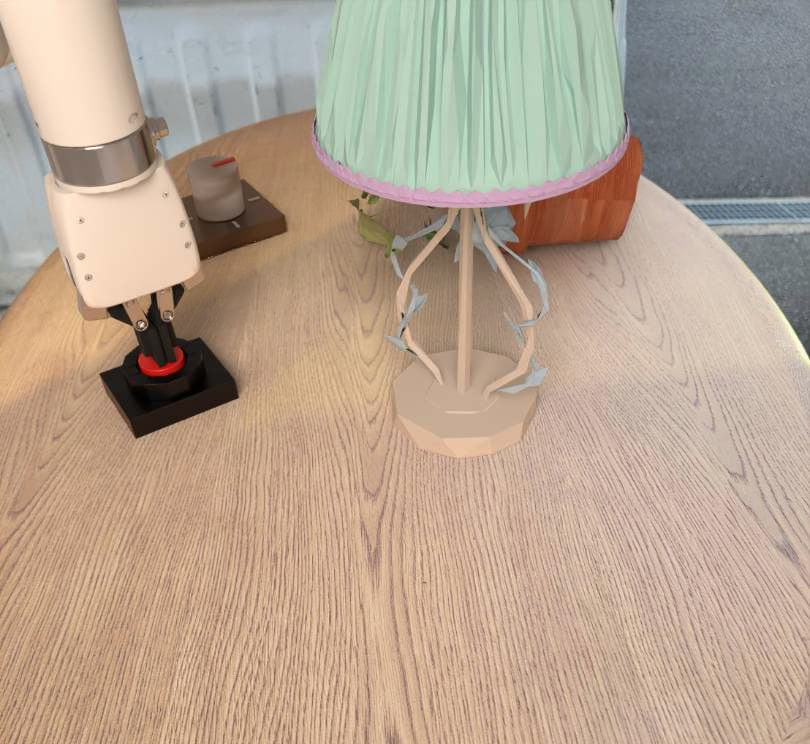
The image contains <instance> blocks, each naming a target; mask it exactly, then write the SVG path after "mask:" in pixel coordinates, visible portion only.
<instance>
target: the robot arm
mask: <svg viewBox="0 0 810 744" xmlns="http://www.w3.org/2000/svg"><path fill="white" fill-rule="evenodd" d="M13 63H14V66H15V68H16V70H17V74H18V77H19V80H20V83H21V85H22V87H23V88H22V89H23V91H24V93H25V97H26V100H27V103H28V105H29V108H30V109H29V110H30V112H31V114H32V116H33V120H34V123H35V126H36V129H37V131H38V135H39V137H40V141H41V143H42V146H43V149H44V151H45V155H46V157H47V161H48V163H49V166H50V169H51V171H49V172H47V173H46V174H45V175H44V177H43V187H44V195H45V201H46V204H47V205H46V206H47V210H48V215H49V218H50V223H51V226H52V230H53V234H54V237H55V241H56V245H57V248H58V251H59V254H60V257H61V261H62V264H63V267H64V270H65V272H66V275H67V278H68V280H69V282H70V285H71V286H72V288H73V289H74V290H76V297H77V298H76V299H77V310H78V312H79V314H80V315H81V316H82V318H83V319H84V320H85V321H88V322H91V321H100V320H108V319H110V318H112V319H114V320H116V321H119V322H121V323H123V324H126V325H128V326H130V327H132V328H133V331H134V334H135V337H136V340H137V343H138V345H139V347H140V349H141V351H142V353H143V355H144V356H145V357H149V356H151V357H152V358H153V360H154V361H155V362H156V364H157V365H158V366H159V368H160V367H163V366H165V364H166V363H167V362H168V363H169V362H170V363H173V362H176V357H175V353H174V350H173V347H176V346H178V343H177V339H176V337H177V335H176V333H175V328H174V325H173V322H172V320H174V318H175V310H176V308H177V306H178V305H179V303H180V301H181V299H182V297H184V295H185V292H187V291H190V290H191V289H193V288H195V287H197V286H198V285H200V284H201V283H202V282H204V280H205V278H206V274H205V273H204V271H203V268H202V267H201V261H200V257H199V252H198V248H197V244H196V240H195V237H194V234H193V231H192V227H191V224H190V221H189V218H188V215H187V213H186V210H185V207H184V204H183V201H182V199H181V198H182V196H181V194H180V193H181V192H180V191H179V188H178V185H177V183H176V181H175V179H174V176H173V174H172V172H171V169H170V167H169V165H168V163H167V161H166V159H165V157H164V155H163V154H162V152H161V151H160V150H159V149H158V148H157V145H158V144H157V141H160V140H161V138H163V137H167V136H170V130H169V126H168V124H167V121H166V120H165V117H164V116H159V117H153V116H151V117H148V116H147V114H145V109H144V107H143V106H144V105H143V103H142V97H141V94H140V90H139V86H138V85H139V84H138V82H137V78H136V74H135V70H134V65H133V62H132V58H131V54H130V50H129V47H128V42H127V38H126V33H125V30H124V26H123V23H122V18H121V15H120V11H119V6H118V3H117V0H0V69H2V68H4V67H7V66H9V65H11V64H13ZM145 296H148V301H149V307H148V308H146V310H147V312H146V313H145V311H144V309H142V307H141V304H140V303H139V301H138V299H139V298H142V297H145ZM166 361H167V362H166Z"/></svg>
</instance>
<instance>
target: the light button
mask: <svg viewBox="0 0 810 744" xmlns="http://www.w3.org/2000/svg"><path fill="white" fill-rule="evenodd" d="M173 350H174V353H175V357H176V362H173V363H170V362H169V363H168V362H167V361H166V362H167V363H166V364H165V366H163V367H160V368H159V366H158V365H157V364H156V362H155V361H154V360H153V358H152V357H151V356H149V357H145V356H144V355H143V353H141V354H140V356H139V359H138V363H139V366H140V369H141V373H143V374H145V375H148V376H165V375H168V374H171V373H173V372H176V371H178V370H179V369H180V368H181V367H183V366H184V365H185V364H186V361H185V358H184V354H183V351H182V350H181V349H180V348H179V347H178V346H176V347H173Z"/></svg>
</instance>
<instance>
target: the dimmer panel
mask: <svg viewBox="0 0 810 744" xmlns="http://www.w3.org/2000/svg"><path fill="white" fill-rule="evenodd" d="M240 181H241V187H242V192H243V198H244V204H245V209H244V211H243V213H242V214H240V215H239V216H237V217H235V218H233V219H230V220H226V221H219V222H213V221H206V220H203V219H201V218H199V217H198V216H197V214H196V210H195V206H194V201H193V197H192V194H190V195H186V196H183V197H181V199H182V201H183V204H184V207H185V210H186V213H187V215H188V218H189V221H190V224H191V227H192V231H193V234H194V237H195V240H196V244H197V248H198V252H199V257H200V260H201V261H204V260H206V259H205V258H207V259H209V258H208V257H210V258H212V257H211V256H213V257H215V256H214V255H216V256H218V255H217V254H219V255H221V254H220V253H222V254H224V253H223V252H225V253H227V252H226V251H228V252H230V251H229V250H231V251H233V250H232V249H234V250H236V249H235V248H237V249H239V248H238V247H240V248H242V247H241V246H243V247H245V246H244V245H246V244H249V243H252V242H255V241H258V240H261V239H264V238H267V237H270V236H273V237H275V236H274V235H276V234H279V233H282V234H284V233H283V232H285V233H287V232H288V228H287V221H286V215H285V214H284V213H283V212H281V210H279V208H277V207H276V206H275V205H274V204H273V203H271V202H270V201H269V200H268V199H267V198H266V197H264V195H262V194H261V193H260V192H259V191H258V190H257V189H256V188H254V187H253V186H252V185H251V184H250V183H249V182H248V181H247V180H246V179H244V178H243V179H240ZM286 231H287V232H286ZM279 235H280V234H279ZM276 236H277V235H276ZM270 238H271V237H270ZM267 239H268V238H267ZM264 240H265V239H264ZM261 241H262V240H261ZM258 242H259V241H258ZM255 243H256V242H255ZM252 244H253V243H252ZM249 245H250V244H249ZM246 246H247V245H246ZM203 259H204V260H203Z"/></svg>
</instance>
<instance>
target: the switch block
mask: <svg viewBox="0 0 810 744" xmlns="http://www.w3.org/2000/svg"><path fill="white" fill-rule="evenodd" d="M176 339H177V343H178V347H179V348H180V349H181V350H182V351H183V354H184V358H185V361H186V364H185V365H184V366H183V367H181V368H180V369H179V370H178V371H176V372H173V373H171V374H168V375H165V376H148V375H145V374H143V373H141V369H140V366H139V363H138V359H139V356H140V354H141V353H142V351H141V349H140V347H139V344H138V345H136V346H135V347H134V348H132V349H131V350H130V351H129V352H127V354H126V355H124V357H123V358H124V359H123V362H122V364H121V365H119V366H116V367H113V368H111V369H108V370H105V371H102V372H100V373H99V378H100V381H101V383H102V385H103V389H104V391H105V393H106V395H107V397H108V398H109V399H110V402H112V404H113V406H114V408H116V411H117V412H118V414H119V415H120V417H121V418H122V420H123V421H124V424H125V425H126V426H127V428H128V429H129V431H130V432H131V434H132V436H133V437H134V438H135V440H137V439H140V438H143V437H144V436H147V435H150V434H153V433H155V432H158V431H160V430H162V429H165V428H167V427H170V426H173V425H175V424H177V423H178V424H179V423H180V422H182V421H185V420H187V419H190V418H193V417H195V416H197V415H200V414H203V413H206V412H207V411H211V410H213V409H216V408H217V407H220V406H223V405H225V404H229V403H231V402H233V401H236V400H238V399H240V397H239V392H238V388H237V387H238V386H237V383H236V378H234V376H233V375H232V374H231V373H230V372H229V371H228V369H227V368H226V367H225V366H224V364H223V363H222V362H221V361H220V360H219V358H218V357H217V356H216V355H215V353H214V352H213V351H212V350H211V348H210V347H209V346H208V345H207V344H206V343H205V341H204V340H203V339H202V338H201V336H198V337H195V338H193V339H190V340H188V339H184V338H181V337H177V336H176Z"/></svg>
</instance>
